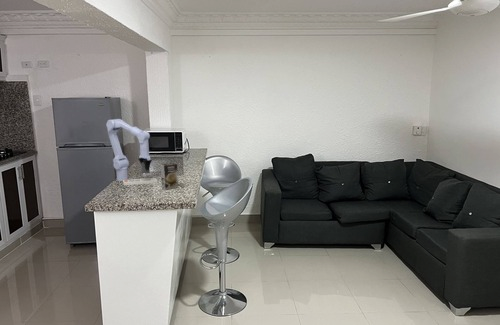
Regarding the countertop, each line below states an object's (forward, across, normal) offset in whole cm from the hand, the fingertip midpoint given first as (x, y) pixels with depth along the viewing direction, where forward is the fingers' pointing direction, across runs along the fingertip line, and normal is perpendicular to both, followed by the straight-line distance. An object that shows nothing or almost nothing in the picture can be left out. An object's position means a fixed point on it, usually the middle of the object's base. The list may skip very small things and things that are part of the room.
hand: (145, 169), depth 258 cm
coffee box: (+11, +20, +8) cm, 24 cm away
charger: (+2, 0, 0) cm, 2 cm away
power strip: (+10, -3, -3) cm, 11 cm away
